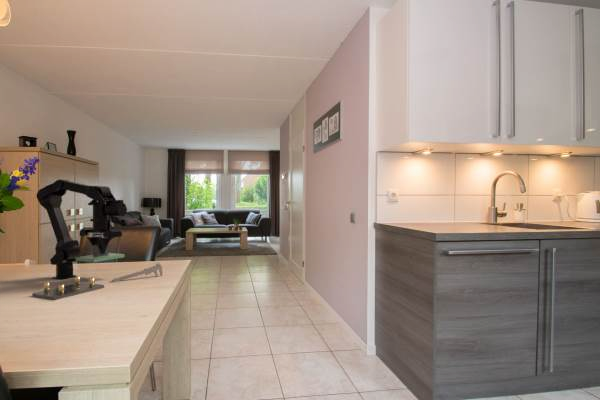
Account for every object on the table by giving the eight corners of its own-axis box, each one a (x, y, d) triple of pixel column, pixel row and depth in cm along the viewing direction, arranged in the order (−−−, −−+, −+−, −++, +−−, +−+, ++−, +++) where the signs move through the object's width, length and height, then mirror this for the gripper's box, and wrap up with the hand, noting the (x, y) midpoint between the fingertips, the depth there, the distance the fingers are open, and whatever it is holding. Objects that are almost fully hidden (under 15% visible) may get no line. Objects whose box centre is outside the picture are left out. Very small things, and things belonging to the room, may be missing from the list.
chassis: (32, 296, 121) (32, 284, 121) (82, 284, 137) (82, 274, 137) (54, 300, 116) (54, 287, 116) (104, 287, 133) (104, 277, 133)
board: (75, 260, 142) (75, 246, 142) (106, 255, 155) (106, 242, 155) (93, 262, 138) (93, 247, 138) (124, 257, 151) (124, 243, 151)
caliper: (161, 276, 154) (161, 261, 154) (162, 276, 153) (162, 262, 153) (109, 282, 142) (109, 267, 142) (109, 283, 141) (109, 267, 141)
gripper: (133, 215, 150) (133, 252, 150) (102, 215, 158) (102, 249, 158) (109, 217, 140) (109, 256, 140) (78, 216, 147) (78, 253, 147)
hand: (100, 253), depth 146 cm, fingers closed on board, 3 cm apart
